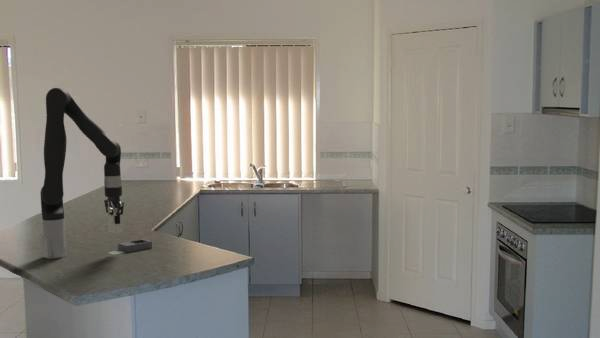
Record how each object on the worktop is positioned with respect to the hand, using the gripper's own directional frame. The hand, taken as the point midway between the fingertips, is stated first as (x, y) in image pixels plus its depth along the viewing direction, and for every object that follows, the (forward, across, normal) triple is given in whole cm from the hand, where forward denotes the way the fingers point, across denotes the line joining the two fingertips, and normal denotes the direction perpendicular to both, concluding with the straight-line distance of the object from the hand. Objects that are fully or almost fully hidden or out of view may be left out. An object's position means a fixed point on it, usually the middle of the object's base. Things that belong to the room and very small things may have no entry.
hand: (115, 223), depth 295 cm
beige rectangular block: (+4, 0, 0) cm, 4 cm away
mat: (+14, 0, 0) cm, 14 cm away
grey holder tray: (+14, 0, +10) cm, 17 cm away
